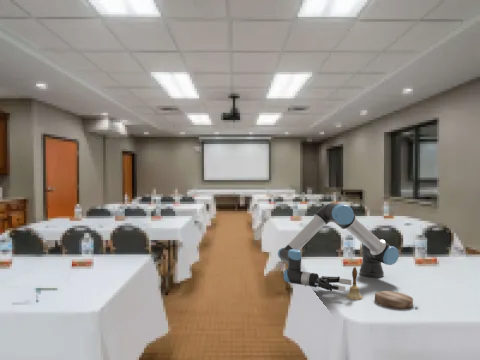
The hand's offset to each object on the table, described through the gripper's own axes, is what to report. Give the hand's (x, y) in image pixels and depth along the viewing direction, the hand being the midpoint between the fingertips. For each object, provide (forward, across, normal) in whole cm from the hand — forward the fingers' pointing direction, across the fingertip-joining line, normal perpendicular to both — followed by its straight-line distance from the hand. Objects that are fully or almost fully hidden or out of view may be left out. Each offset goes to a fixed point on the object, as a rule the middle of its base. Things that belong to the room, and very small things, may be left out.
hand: (348, 285), depth 189 cm
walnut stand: (+22, -3, -6) cm, 23 cm away
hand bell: (+3, 0, -6) cm, 7 cm away
